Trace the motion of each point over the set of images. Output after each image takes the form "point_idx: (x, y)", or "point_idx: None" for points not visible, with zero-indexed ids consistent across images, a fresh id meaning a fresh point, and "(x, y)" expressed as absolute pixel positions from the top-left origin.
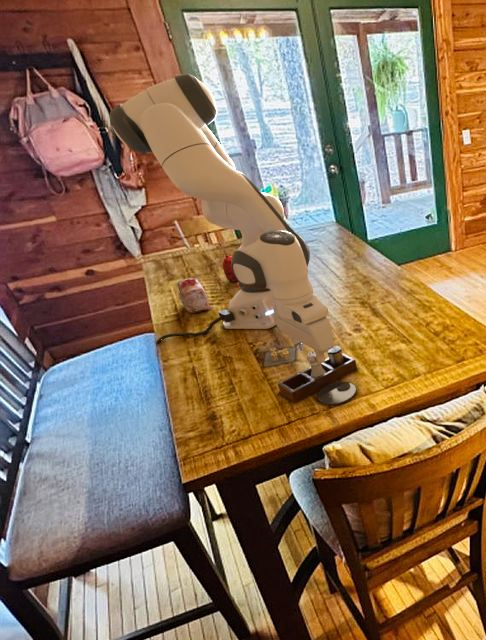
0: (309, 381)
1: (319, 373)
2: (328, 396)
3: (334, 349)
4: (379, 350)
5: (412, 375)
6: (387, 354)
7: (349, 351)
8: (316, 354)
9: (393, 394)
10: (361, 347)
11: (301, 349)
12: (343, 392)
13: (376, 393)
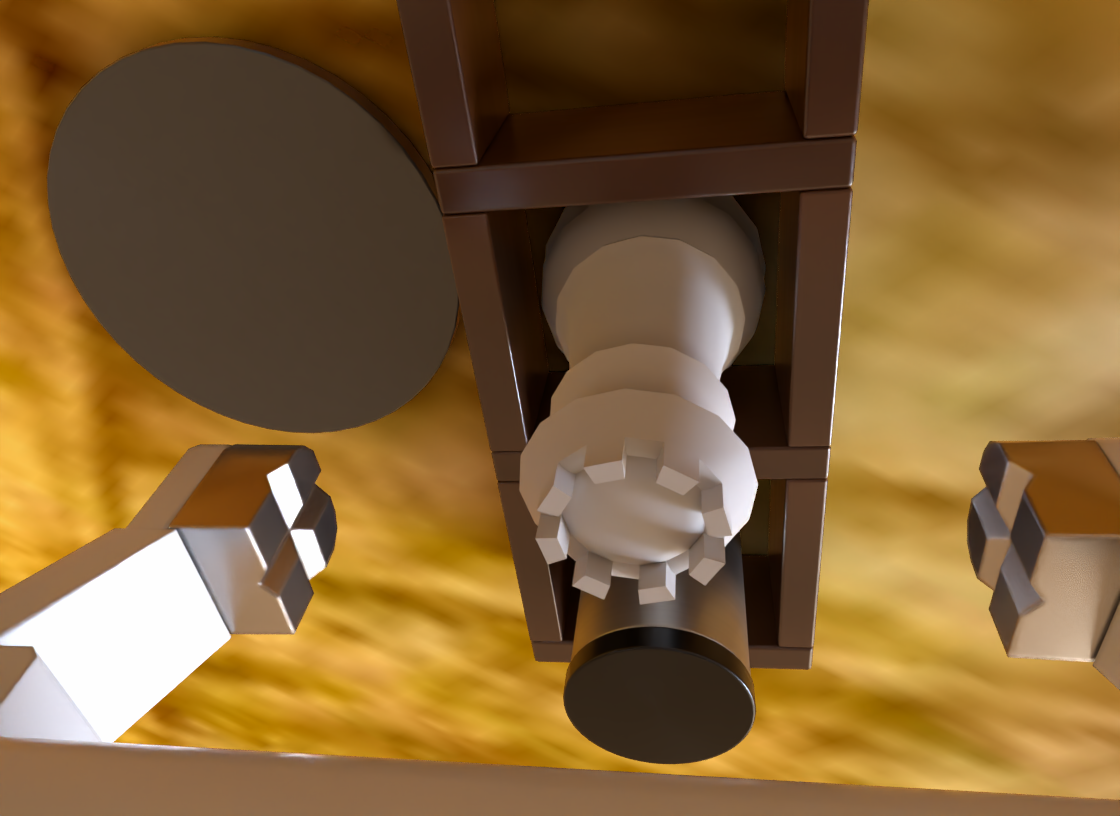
0: (562, 143)
1: (567, 324)
2: (228, 162)
3: (645, 710)
4: (672, 774)
5: (185, 701)
6: (568, 768)
7: (893, 681)
8: (39, 594)
9: (8, 528)
10: (848, 748)
11: (981, 507)
12: (215, 308)
13: (83, 469)
